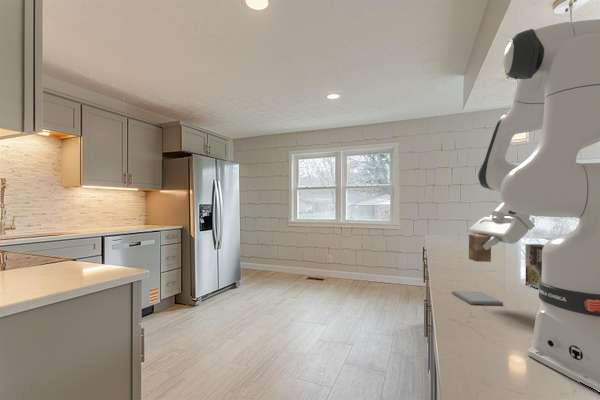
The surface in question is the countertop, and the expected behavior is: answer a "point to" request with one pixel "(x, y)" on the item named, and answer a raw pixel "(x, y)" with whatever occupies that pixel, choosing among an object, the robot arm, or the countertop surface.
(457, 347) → the countertop surface
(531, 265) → the coffee box
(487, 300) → the plate
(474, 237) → the walnut block
